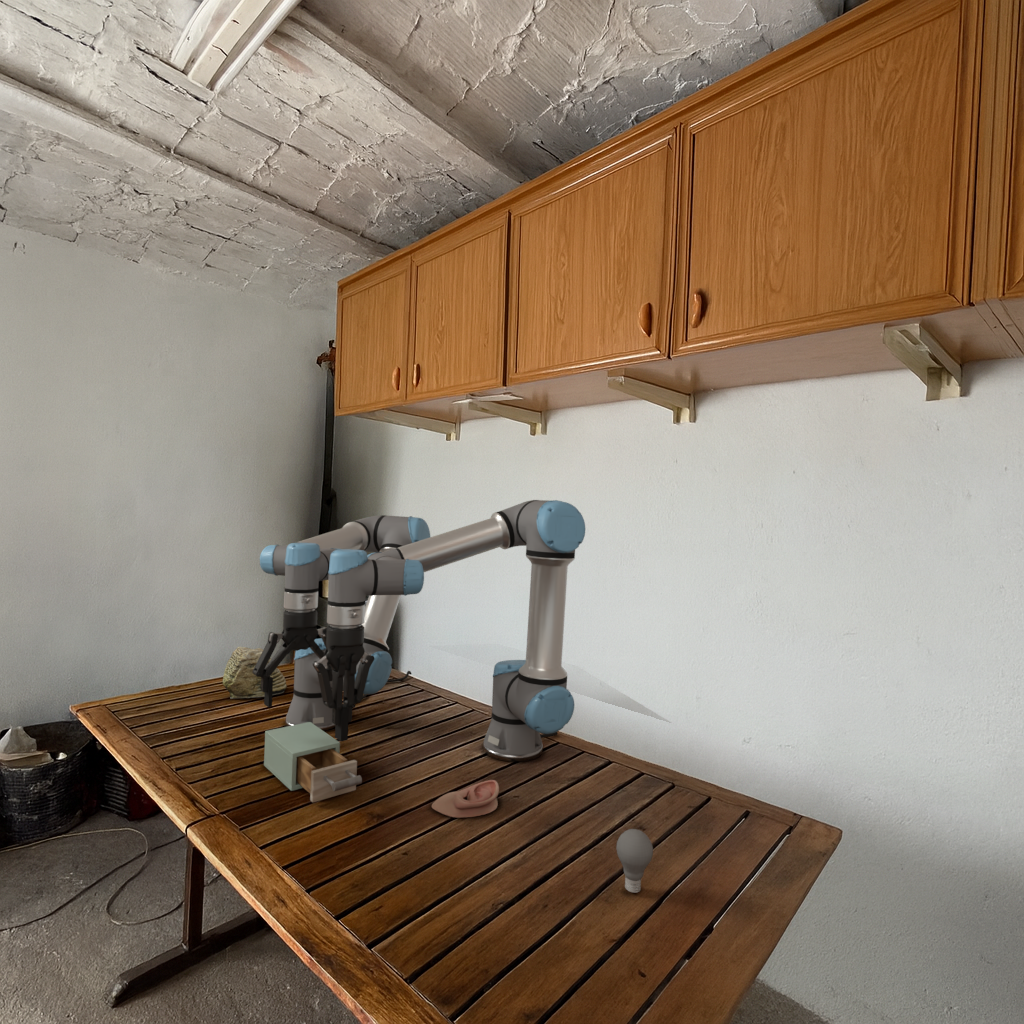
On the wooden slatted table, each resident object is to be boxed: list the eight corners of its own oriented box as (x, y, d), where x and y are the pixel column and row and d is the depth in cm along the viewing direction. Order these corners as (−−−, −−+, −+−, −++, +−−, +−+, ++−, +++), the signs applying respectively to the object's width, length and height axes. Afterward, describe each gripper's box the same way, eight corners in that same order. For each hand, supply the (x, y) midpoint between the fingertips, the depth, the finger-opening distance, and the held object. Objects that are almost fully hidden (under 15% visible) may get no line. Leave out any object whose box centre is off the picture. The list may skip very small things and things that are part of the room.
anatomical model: (427, 794, 128) (444, 771, 139) (426, 813, 128) (443, 788, 139) (490, 803, 125) (503, 779, 137) (489, 823, 126) (502, 797, 137)
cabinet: (338, 778, 143) (340, 742, 143) (291, 791, 136) (292, 753, 136) (308, 754, 155) (310, 721, 155) (263, 765, 148) (265, 730, 148)
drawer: (369, 800, 131) (370, 771, 131) (325, 814, 125) (326, 783, 125) (325, 766, 147) (326, 739, 146) (284, 776, 140) (285, 749, 140)
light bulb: (610, 879, 108) (613, 822, 108) (644, 879, 109) (647, 822, 109) (619, 902, 102) (622, 840, 102) (655, 901, 103) (658, 840, 103)
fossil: (218, 695, 195) (220, 647, 195) (278, 685, 208) (279, 640, 207) (228, 703, 189) (230, 653, 188) (289, 692, 201) (290, 645, 201)
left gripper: (251, 617, 136) (248, 715, 136) (357, 607, 152) (353, 695, 153) (239, 611, 142) (236, 705, 142) (343, 603, 158) (339, 687, 159)
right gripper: (323, 631, 123) (319, 751, 123) (383, 625, 132) (378, 737, 132) (307, 624, 129) (303, 739, 129) (365, 618, 137) (361, 726, 138)
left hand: (297, 700), depth 147 cm, fingers open, 13 cm apart
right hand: (341, 738), depth 131 cm, fingers closed
